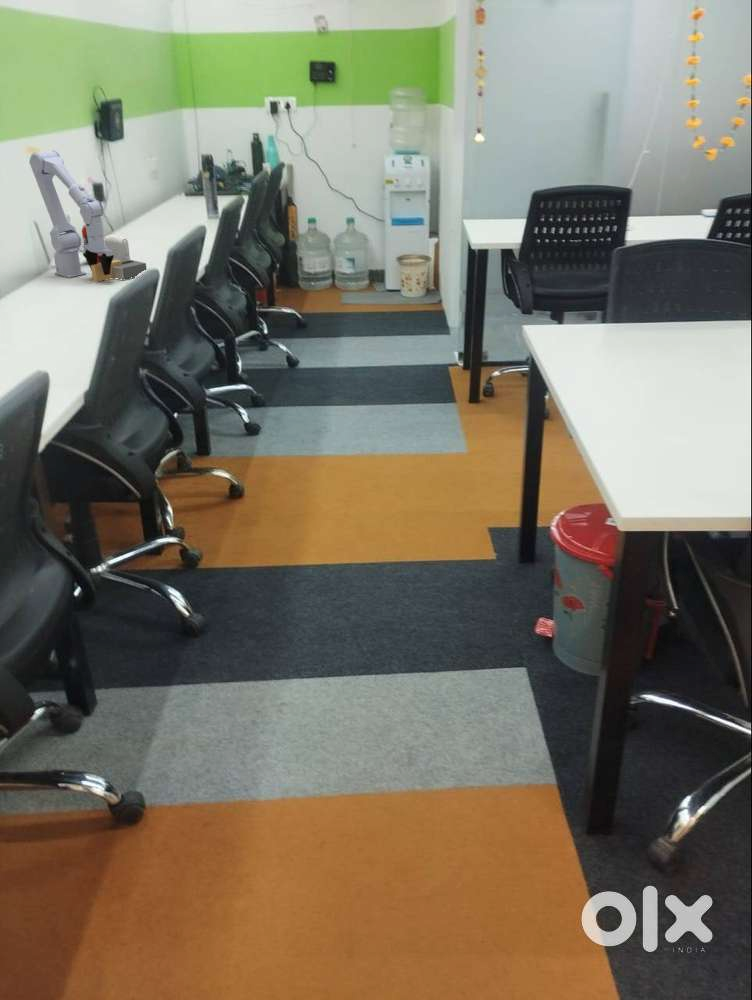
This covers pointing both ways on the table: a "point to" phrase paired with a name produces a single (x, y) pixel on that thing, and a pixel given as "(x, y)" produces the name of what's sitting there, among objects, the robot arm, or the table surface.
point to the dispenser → (128, 269)
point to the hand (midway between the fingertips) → (100, 273)
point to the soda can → (85, 241)
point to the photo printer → (117, 246)
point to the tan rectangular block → (98, 271)
